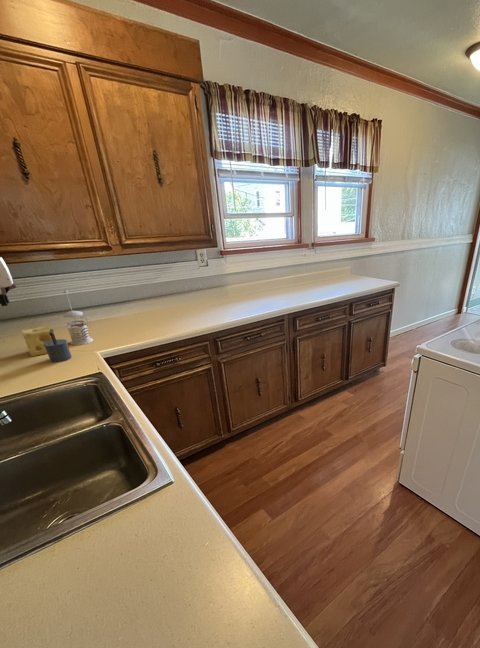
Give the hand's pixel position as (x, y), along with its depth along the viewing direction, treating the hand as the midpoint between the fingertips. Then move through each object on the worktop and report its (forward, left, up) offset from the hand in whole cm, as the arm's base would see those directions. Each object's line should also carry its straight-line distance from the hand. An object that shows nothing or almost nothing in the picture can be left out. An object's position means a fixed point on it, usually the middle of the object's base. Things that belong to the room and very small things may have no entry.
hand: (5, 305), depth 124 cm
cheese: (+4, +17, -25) cm, 31 cm away
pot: (+11, 0, -25) cm, 27 cm away
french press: (+20, +23, -25) cm, 40 cm away
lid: (+11, 0, -18) cm, 21 cm away
